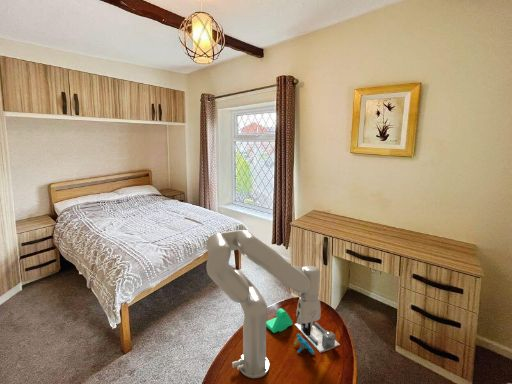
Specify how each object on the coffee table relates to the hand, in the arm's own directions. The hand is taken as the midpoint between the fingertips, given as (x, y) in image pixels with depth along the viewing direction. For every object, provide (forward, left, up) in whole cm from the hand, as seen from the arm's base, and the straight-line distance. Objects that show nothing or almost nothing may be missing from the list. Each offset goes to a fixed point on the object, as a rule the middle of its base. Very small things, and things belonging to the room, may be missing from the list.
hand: (306, 333), depth 117 cm
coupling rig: (+11, +7, -8) cm, 15 cm away
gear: (+1, 0, -9) cm, 10 cm away
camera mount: (-3, +20, -9) cm, 22 cm away
